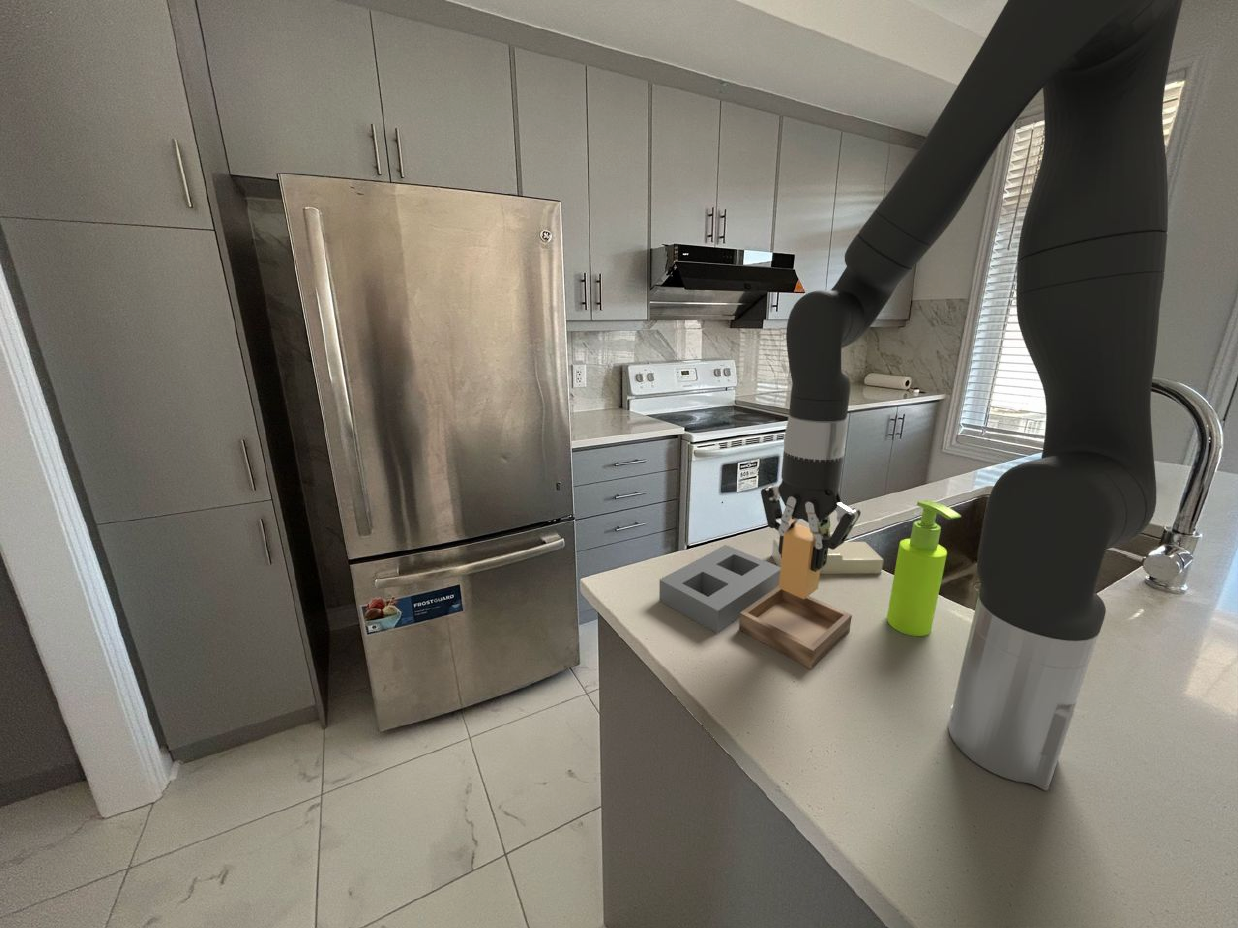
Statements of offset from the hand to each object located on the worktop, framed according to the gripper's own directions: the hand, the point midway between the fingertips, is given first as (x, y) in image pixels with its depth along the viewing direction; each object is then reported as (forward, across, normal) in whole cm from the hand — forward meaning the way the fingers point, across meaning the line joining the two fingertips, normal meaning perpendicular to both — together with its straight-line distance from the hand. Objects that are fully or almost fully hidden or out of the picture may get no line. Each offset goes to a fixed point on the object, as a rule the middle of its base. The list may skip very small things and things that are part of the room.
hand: (800, 562), depth 69 cm
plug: (+4, 0, 0) cm, 4 cm away
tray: (+12, 0, 0) cm, 12 cm away
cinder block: (+12, +13, 0) cm, 18 cm away
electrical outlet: (+12, +6, -22) cm, 26 cm away
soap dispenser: (+12, -12, -14) cm, 22 cm away
